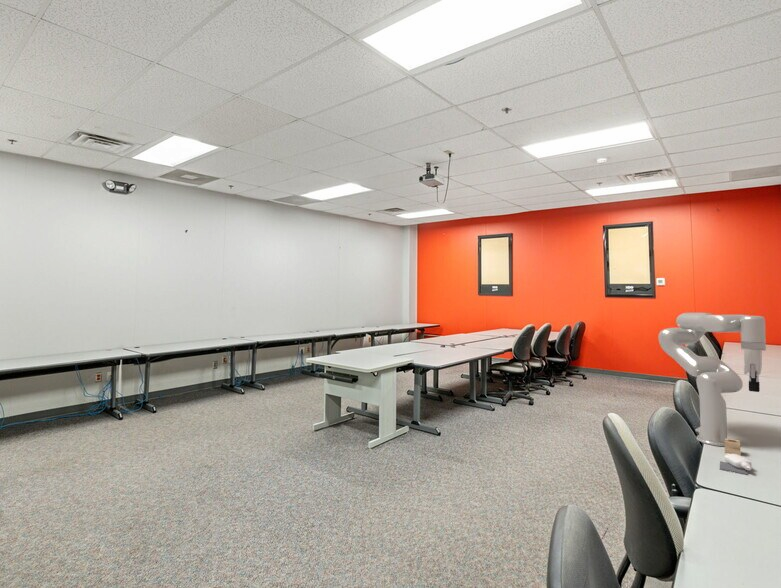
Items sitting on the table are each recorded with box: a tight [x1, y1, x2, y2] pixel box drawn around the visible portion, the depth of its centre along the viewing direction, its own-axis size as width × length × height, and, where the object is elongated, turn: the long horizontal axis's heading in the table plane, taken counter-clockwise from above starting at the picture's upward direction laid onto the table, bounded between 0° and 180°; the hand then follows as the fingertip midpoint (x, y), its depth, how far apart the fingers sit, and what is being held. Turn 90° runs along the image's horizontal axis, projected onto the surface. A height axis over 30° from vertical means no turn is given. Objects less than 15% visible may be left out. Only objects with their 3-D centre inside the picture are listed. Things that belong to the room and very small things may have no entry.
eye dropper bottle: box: [724, 454, 753, 472], centre depth 156 cm, size 4×6×12 cm
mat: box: [719, 460, 748, 476], centre depth 156 cm, size 9×8×1 cm
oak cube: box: [724, 438, 742, 456], centre depth 172 cm, size 5×5×5 cm
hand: (754, 391), depth 166 cm, fingers closed
